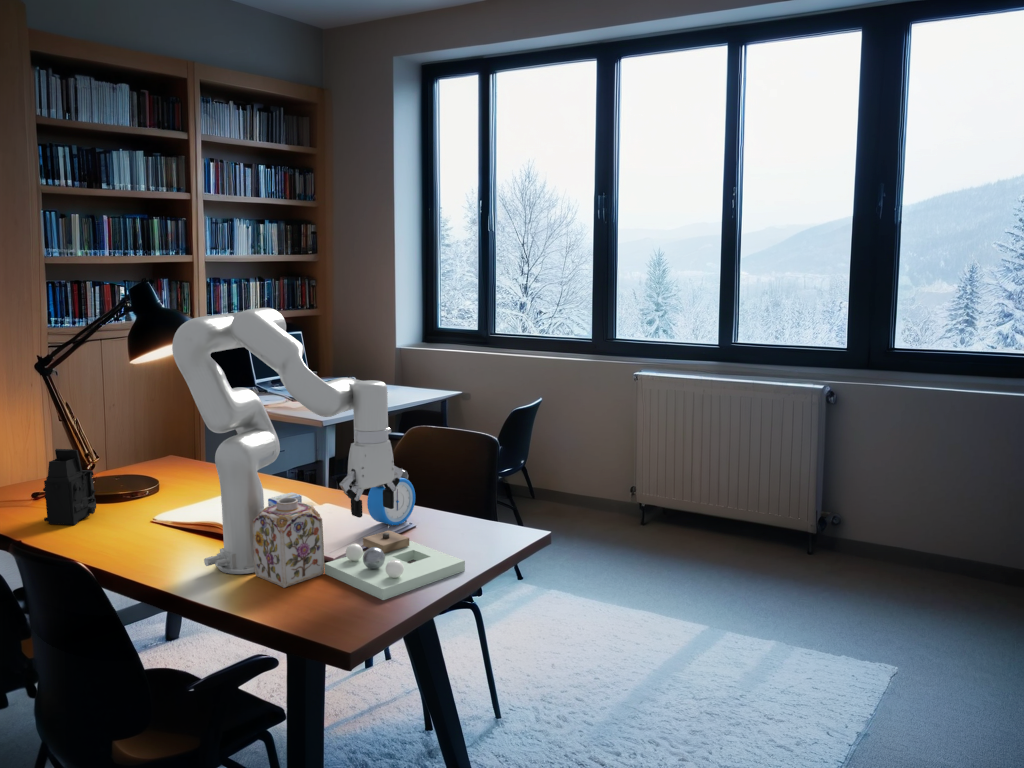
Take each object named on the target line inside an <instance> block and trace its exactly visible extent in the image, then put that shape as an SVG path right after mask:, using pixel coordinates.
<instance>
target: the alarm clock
mask: <svg viewBox="0 0 1024 768" xmlns="http://www.w3.org/2000/svg"><path fill="white" fill-rule="evenodd" d="M398 468H399V469H401V470H403V474H402V476H401V478H400V482H399V483H398V485H397V486H396V491H394V508H393V509H389V508H386V507H384V506H383V490H384V489H385V488H384V486H383V485H380V486H376V487H372V488H369V492H368V495H367V499H366V500H367V503H366V504H367V511H368V514H369V516H370V517H371V518H372V519H373V520H374V521H376V522H379V523H382V524H386V525H388V526H390V527H391V526H393V525H396V526H399V524H400V525H402V524H403V523H407V522H408V521H407V520H408V519H409V518H410V517H411V515H412V512H413V510H414V507H415V503H416V492H415V488H414V485H413V484H412V482H411V481H410V480H409V474H408V471H407V470H405V469H403V467H401V468H400V467H398ZM388 526H387V527H388Z"/></svg>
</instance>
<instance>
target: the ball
mask: <svg viewBox="0 0 1024 768" xmlns="http://www.w3.org/2000/svg"><path fill="white" fill-rule="evenodd" d="M364 551H365V553H364V555H363V562H364V564H365V566H366V567H367V568H369V569H373V570H374V569H378V568H380V567H381V566H382V565H383V564H384V561H385V554H384V552H383V551H382V550H381V549H380V548H377V547H371V548H367V549H366V550H364Z"/></svg>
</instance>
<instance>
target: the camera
mask: <svg viewBox="0 0 1024 768" xmlns="http://www.w3.org/2000/svg"><path fill="white" fill-rule="evenodd" d="M54 453H55V457H56V458H55V459H54V460H53V459H52V460H49V461H48V468H47V469H48V471H47V476H46V478H45V480H44V481H43V482H44V483H43V484H44V487H43V488H42V491H43V492H44V499H45V506H46V507H45V508H46V509H45V510H46V516H47V517H44V518H43V521H44V522H47V523H48V524H49V525H64V526H65V525H67V526H76V525H78V522H81V520H84V519H85V518H87V517H89V516H90V515H94V514H95V511H96V509H97V502H96V497H95V493H96V489H95V487H94V485H95V484H94V478H95V476H94V471H93V470H83V468H82V465H81V459H80V456H79V451H78V449H71V448H68V449H66V448H55V450H54Z"/></svg>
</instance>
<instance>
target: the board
mask: <svg viewBox="0 0 1024 768" xmlns="http://www.w3.org/2000/svg"><path fill="white" fill-rule="evenodd" d="M365 551H366V550H363V555H364V553H365ZM384 554H385V561H384V564H383V565H382V566H381V567H380V568H378V569H374V570H373V569H369V568H367V567H366V566H365V564H364V562H363V555H362V557H361V558H360V559H359V560H357V561H351V560H349V559H348V558H347V556H344V557H340V558H338V559H337V558H336V559H334V560H331V561H328V562H324V575H327V576H329V577H331V578H334V579H336V580H338V581H340V582H342V583H344V584H347V585H349V586H351V587H353V588H356V589H357V590H359V591H362V592H364V593H366V594H368V595H370V596H372V597H375V598H378V599H380V600H382V601H386V600H388V599H390V598H394V597H396V596H400V595H402V594H405V593H407V592H409V591H413V590H416V589H418V588H422V587H424V586H427V585H430V584H432V583H435V582H437V581H438V582H439V581H440V580H443V579H447V578H448V577H451V576H454V575H457V574H460V573H462V572H465V571H466V561H465V560H464V559H461V558H459V557H455V556H453V555H450V554H448V553H445V552H442V551H440V550H437V549H434V548H432V547H429V546H426V545H424V544H422V543H418V542H416V541H413V540H410V539H409V546H406V547H403V548H400V549H397V550H394V551H390V552H387V553H384ZM391 560H399V561H400V562H401V563H402V564H403V566H404V571H403V573H402V575H401V576H400V577H398V578H391V577H389V576H388V575H387V573H386V565H387V563H388V562H389V561H391ZM411 561H414V562H411ZM410 562H411V563H410Z"/></svg>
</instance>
